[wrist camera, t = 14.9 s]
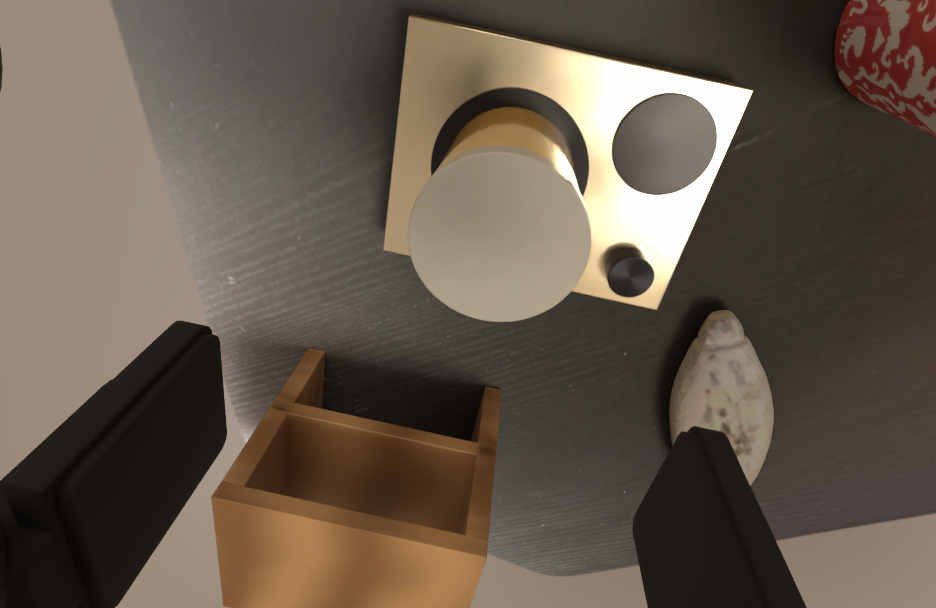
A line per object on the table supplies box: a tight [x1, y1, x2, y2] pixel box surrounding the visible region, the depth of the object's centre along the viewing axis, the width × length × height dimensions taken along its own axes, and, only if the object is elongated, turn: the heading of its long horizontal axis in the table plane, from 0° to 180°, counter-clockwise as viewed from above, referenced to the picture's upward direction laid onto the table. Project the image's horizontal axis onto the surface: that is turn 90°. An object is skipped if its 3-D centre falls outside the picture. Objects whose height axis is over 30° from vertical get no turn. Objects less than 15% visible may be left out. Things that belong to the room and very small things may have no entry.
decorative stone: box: [669, 310, 774, 485], centre depth 34 cm, size 6×16×3 cm, turn 14°
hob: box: [383, 14, 754, 310], centre depth 27 cm, size 16×12×4 cm
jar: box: [408, 107, 591, 322], centre depth 23 cm, size 7×7×9 cm
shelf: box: [212, 348, 501, 608], centre depth 34 cm, size 14×10×13 cm
